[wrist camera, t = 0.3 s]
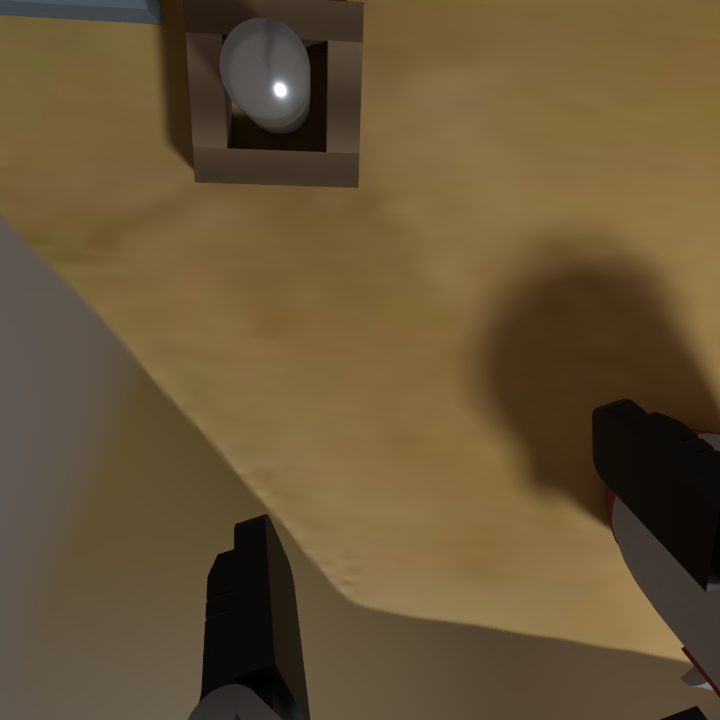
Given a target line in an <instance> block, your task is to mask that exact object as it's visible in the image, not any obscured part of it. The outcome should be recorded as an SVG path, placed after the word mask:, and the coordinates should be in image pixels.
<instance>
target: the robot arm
mask: <svg viewBox="0 0 720 720" xmlns="http://www.w3.org/2000/svg"><path fill="white" fill-rule="evenodd" d="M592 433H593V461H594V465H595V467H596V470H597V472H598V474H599V475H600V477H601V479H602V480H603V481H604V482H605V483H606V485H607V486H608V487H609V488H610V489H611V490H612V491H613V492H614V493H615V494H616V495H617V496H618V498H619V499H620V500H621V501H622V502H623V503H624V504H625V505H626V506H627V507H628V508H629V509H630V511H631V512H632V513H633V514H634V515H635V516H636V517H637V518H638V519H639V520H640V521H641V522H642V524H643V525H644V526H645V527H646V528H647V529H648V530H649V531H650V532H651V533H652V534H653V535H654V537H655V538H656V539H657V540H658V541H659V542H660V543H661V544H662V545H663V546H664V547H665V548H666V549H667V551H668V552H669V553H670V554H671V555H672V556H673V557H674V558H675V559H676V560H677V561H678V562H679V564H680V565H681V566H682V567H683V568H684V569H685V570H686V571H687V572H688V573H689V574H690V575H691V577H692V578H693V579H694V580H695V581H696V582H697V583H698V584H699V585H700V586H701V587H702V588H703V590H704V591H705V592H709V591H712V590H714V589H717V588H720V451H718V450H714V447H713V446H712V445H710V444H709V443H708V442H706V441H705V440H704V439H703V438H701V439H700V438H699V436H698V435H697V434H696V433H695V432H693V431H692V430H691V429H689V428H688V427H687V426H685V425H684V424H683V423H682V422H680V421H678V420H675V419H673V418H670V417H668V416H665V415H663V414H660V413H658V412H654V413H650V414H648V413H647V412H645V411H644V410H643V409H642V408H640V407H639V406H638V405H637V404H635V403H634V402H633V401H631V400H629V399H621V400H618V401H615V402H612V403H609V404H606V405H603V406H600V407H597V408H595V409H594V411H593V415H592ZM188 720H310V713H309V704H308V696H307V688H306V679H305V672H304V663H303V654H302V645H301V637H300V629H299V621H298V612H297V604H296V595H295V586H294V580H293V575H292V571H291V567H290V564H289V561H288V558H287V555H286V553H285V551H284V549H283V546H282V544H281V542H280V540H279V537H278V535H277V533H276V530H275V528H274V526H273V524H272V521H271V519H270V517H269V516H268V514H265V515H261V516H258V517H255V518H252V519H249V520H246V521H243V522H240V523H237V524H235V528H234V549H233V550H230V551H227V552H224V553H221V554H218V555H217V558H216V560H215V562H214V564H213V566H212V568H211V570H210V573H209V575H208V580H207V603H206V621H205V635H204V653H203V673H202V689H201V697H200V701H199V703H198V705H197V706H196V707H195V709H194V710H193V711H192V713H191V715H190V717H189V718H188ZM660 720H707V719H706V717H705V716H704V715H703V713H702V712H701V710H700V709H699V708H698V706H695V707H692V708H690V709H687V710H684V711H682V712H679V713H676V714H674V715H671V716H668V717H666V718H663V719H660Z"/></svg>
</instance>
